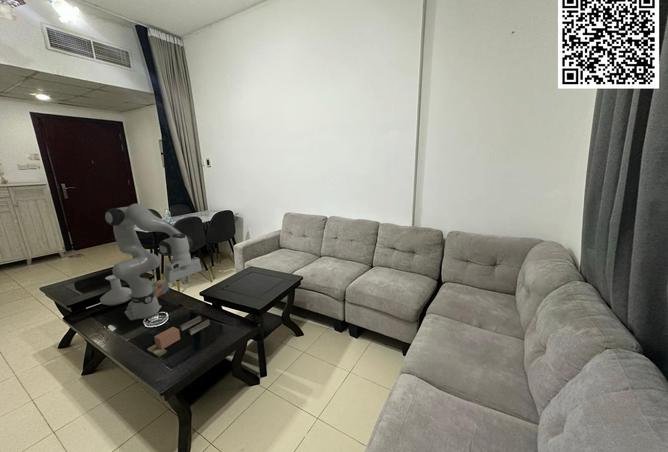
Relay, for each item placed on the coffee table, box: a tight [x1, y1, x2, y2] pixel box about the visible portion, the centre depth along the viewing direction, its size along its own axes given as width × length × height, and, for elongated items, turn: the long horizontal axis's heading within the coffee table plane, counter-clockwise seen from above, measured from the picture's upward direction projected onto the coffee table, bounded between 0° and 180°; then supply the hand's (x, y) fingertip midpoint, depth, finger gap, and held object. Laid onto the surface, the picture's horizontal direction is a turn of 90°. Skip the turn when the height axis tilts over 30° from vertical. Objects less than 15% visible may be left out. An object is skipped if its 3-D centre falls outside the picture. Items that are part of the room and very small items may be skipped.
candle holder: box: [99, 274, 132, 306], centre depth 191 cm, size 20×20×19 cm
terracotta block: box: [153, 326, 181, 350], centre depth 142 cm, size 6×10×6 cm, turn 151°
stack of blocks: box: [150, 279, 170, 298], centre depth 198 cm, size 21×6×12 cm, turn 169°
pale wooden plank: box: [146, 315, 211, 358], centre depth 149 cm, size 11×32×4 cm, turn 151°
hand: (185, 283), depth 156 cm, fingers closed
